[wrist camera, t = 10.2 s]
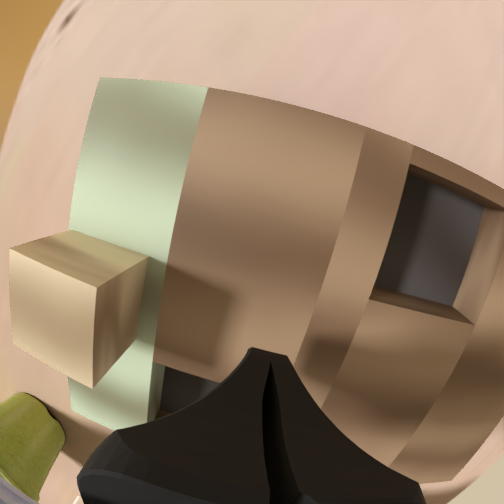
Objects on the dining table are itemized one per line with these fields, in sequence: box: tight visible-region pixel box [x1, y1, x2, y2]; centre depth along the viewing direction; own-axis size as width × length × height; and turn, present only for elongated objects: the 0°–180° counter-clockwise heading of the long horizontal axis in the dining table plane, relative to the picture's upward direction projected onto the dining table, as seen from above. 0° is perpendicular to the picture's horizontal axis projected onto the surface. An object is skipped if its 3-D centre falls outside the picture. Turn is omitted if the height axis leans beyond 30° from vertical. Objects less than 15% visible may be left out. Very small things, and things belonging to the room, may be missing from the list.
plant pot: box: [0, 392, 65, 503], centre depth 16 cm, size 9×9×9 cm
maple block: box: [9, 230, 149, 389], centre depth 11 cm, size 4×4×4 cm
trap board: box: [68, 78, 504, 484], centre depth 14 cm, size 18×26×3 cm
